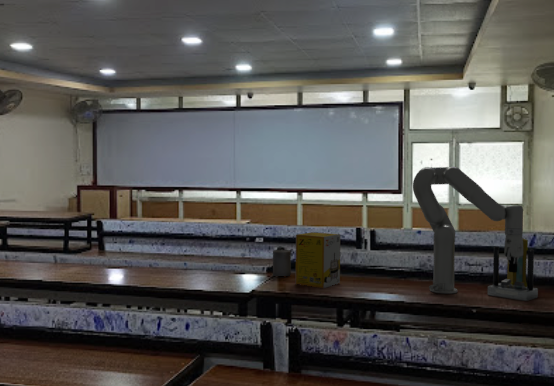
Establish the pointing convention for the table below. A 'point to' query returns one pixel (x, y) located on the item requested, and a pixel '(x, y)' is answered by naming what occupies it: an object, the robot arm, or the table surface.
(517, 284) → the paddle
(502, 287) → the gray double-post stand
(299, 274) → the packaging box
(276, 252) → the gray lidded canister
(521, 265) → the book
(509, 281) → the paddle
